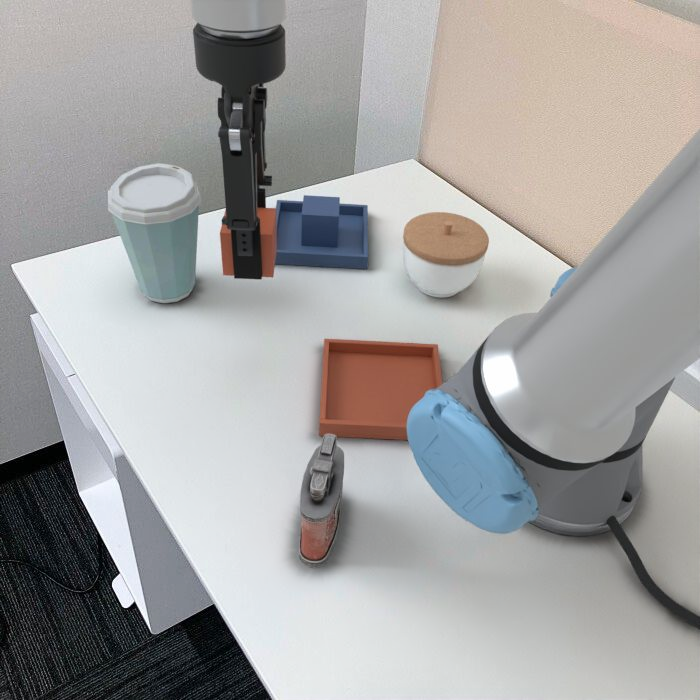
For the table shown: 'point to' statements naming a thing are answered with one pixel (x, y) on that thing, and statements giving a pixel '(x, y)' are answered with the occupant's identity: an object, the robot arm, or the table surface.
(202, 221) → the table surface
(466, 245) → the trinket box
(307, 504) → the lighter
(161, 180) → the disposable coffee cup
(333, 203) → the slate block
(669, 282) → the robot arm
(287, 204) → the slate tray
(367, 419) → the terracotta tray
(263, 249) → the terracotta block
